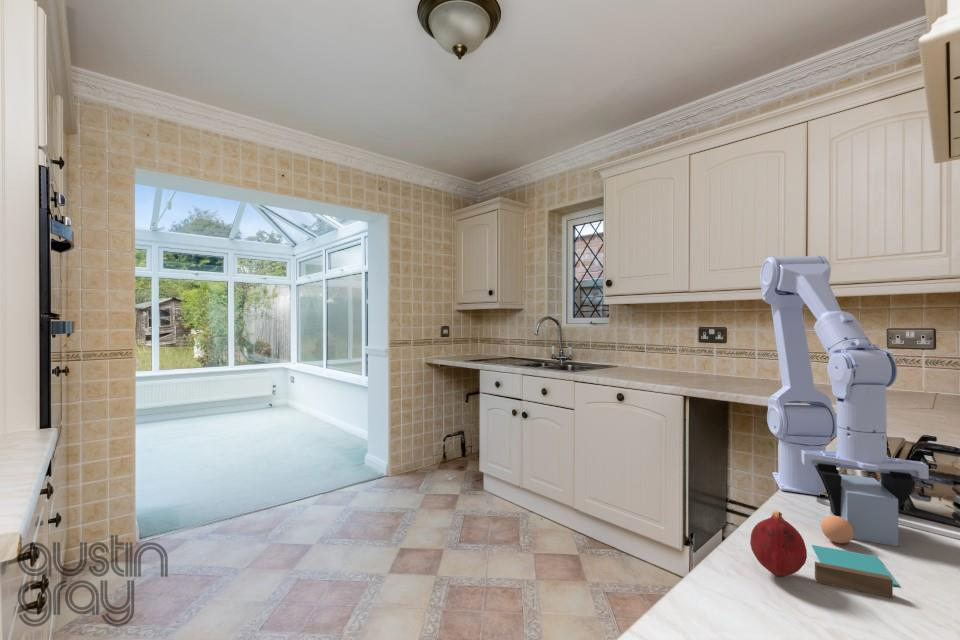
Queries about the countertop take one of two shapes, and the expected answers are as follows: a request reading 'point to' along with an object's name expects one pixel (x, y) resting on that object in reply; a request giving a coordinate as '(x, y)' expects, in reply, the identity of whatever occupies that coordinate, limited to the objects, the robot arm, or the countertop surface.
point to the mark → (851, 560)
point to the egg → (837, 529)
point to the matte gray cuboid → (869, 509)
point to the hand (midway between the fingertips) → (861, 517)
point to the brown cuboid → (854, 579)
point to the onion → (778, 546)
